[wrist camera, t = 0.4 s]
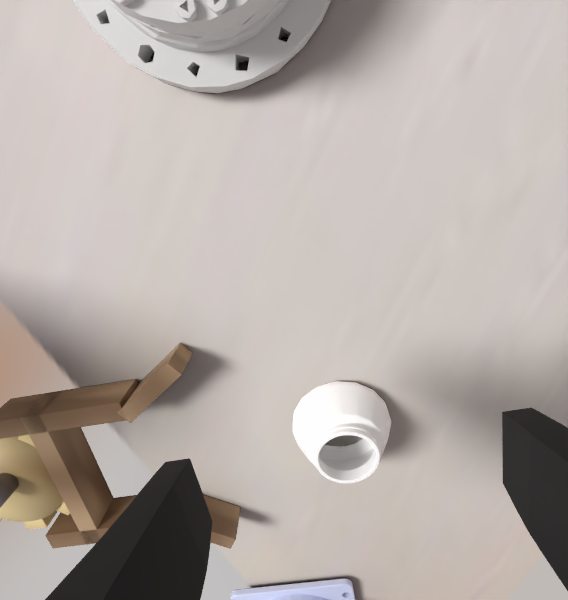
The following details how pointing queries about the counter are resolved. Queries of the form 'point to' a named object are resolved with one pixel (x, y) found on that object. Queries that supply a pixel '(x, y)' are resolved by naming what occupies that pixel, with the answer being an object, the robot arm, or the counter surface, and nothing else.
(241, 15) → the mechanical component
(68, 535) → the gear station
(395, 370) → the counter surface
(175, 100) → the counter surface
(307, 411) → the white jar
